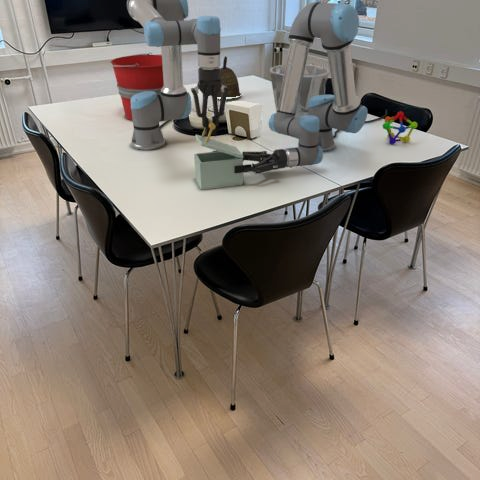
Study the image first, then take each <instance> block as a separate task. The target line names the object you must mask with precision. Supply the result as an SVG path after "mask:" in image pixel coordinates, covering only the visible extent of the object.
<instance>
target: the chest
mask: <svg viewBox="0 0 480 480" xmlns="http://www.w3.org/2000/svg"><path fill="white" fill-rule="evenodd" d="M215 151H216V150H215ZM193 155H194V156H193V157H194V175H195V177H194V178H195V181H196V183H197V186H198V187H199V188H200V190H202V191H203V190H211V189H219V188H227V187H235V186H242V185H243V184H244V172H243V173H235V166H239V165H244V162H243V158H240V157H236V156H233V155H230V154H226V153H223V152H220V151H216V152H213V151H209V152H197V153H194V154H193Z"/></svg>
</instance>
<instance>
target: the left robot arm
mask: <svg viewBox="0 0 480 480" xmlns="http://www.w3.org/2000/svg"><path fill="white" fill-rule="evenodd" d="M126 10H127V12H128V15H129V16H130V18H132V19H133V20H134V21H136V22H138V23H139V24H140V25H141V26H142V28H143V35H144V36H143V37H144V39H145V43H146V45H147V46H149V47H156V48H160V50H161V51H160V53H161V55H162V68H163V84H164V86H163V87H162V88H161V94H159V95H157V94H156V92H154V91H145V92H140V93H137V94H135V95H133V96H132V98H131V110H132V118H133V121H132V125H133V132H132V135H131V139H130V140H131V142H130V143H131V147H132V148H134V149H135V150H141V151H151V150H153V151H154V150H157V149H161V148H163V147H164V146H165V144H166V140H165V137H164V135H163V132H162V130H161V128H162V127H164V126H165V125H166V124H168V123H169V122H170V121H175V120H178V121H179V120H182V119H187V118H188V117H189V116H190V114H191V111H192V96H191V94H190V92H188V91H187V88H186V87H185V86H184V81H183V79H184V77H183V56H182V55H183V54H182V46H189V45H191V46H192V45H196V46H197V66H198V69H197V73H198V77H197V78H198V81H197V84H196V86H195V87H191V88H190V91H191V93H192V95H193V101H194V107H195V113H196V116H197V117H198V118H201V126H202V127H203V128H205V135H204V136H205V137H206V138H207V137H208V134H209V131H210V127H209V119H210V118H209V117H208V115H207V114H208V102H209V101H208V100H209V97H211V100H212V110H213V116H211V121H212V122H213V123H214V124H215V126H216V127H215V129H214V130H212V133H211V135H213V137H217V127H219V126H220V125H219V124H220V123H219V122H220V120H219V119H220V117H221V116H222V117H223V116H224V115H225V110H226V109H225V107H226V101H227V100H226V94H227V92H228V90H229V89H228V87H226V86H223V85H222V83H221V72H220V69H221V68H220V67H221V31H222V28H221V20H220V17H218V16H216V15H199V16H197V17H196V18H191V19H188V20H185V19H187V18H188V17H189V4H188V0H126ZM220 88H221V91H222V92H221V99H220V100H219V102H218V100H217V93H218V92H219V90H220ZM199 91H200V92H201V94H202V102H201V103H202V105H200V100H199V99H200V98H199V95H198V94H199ZM218 103H219V104H218ZM208 118H209V119H208ZM160 122H164V123H162V124H161V125H160Z"/></svg>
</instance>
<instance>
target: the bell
mask: <svg viewBox="0 0 480 480" xmlns="http://www.w3.org/2000/svg"><path fill="white" fill-rule="evenodd" d="M227 63H228V57H227V56H224V58H223V63H222V67H221V68H220V72H221V83H222V85H223V86H226V87H228V89H229V90H228V92H227V94H226V97H236V96H240V95H241V96H242V93H241V92H240V83H239V80H238V79H239V78H238V77H237V75H236V73H235V72H234V70H232V69H231V68H230V67H227ZM221 92H222V91H221V88H220V90H219V92H218V93H217V97H221Z"/></svg>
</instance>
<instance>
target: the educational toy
mask: <svg viewBox="0 0 480 480" xmlns="http://www.w3.org/2000/svg"><path fill="white" fill-rule="evenodd" d="M397 119H399V124H400V125H399V127H398V126H393V125H391V124H392V123H394V122H395V121H396V120H397ZM403 120H404V121H405V122H407V123H408V124H409V125H407V126H404V123H403ZM417 127H418V122H417V121H411V120H410V119H409V118H408V117H406V116H405V113H404V112H403V111H401V110H400V111H398V112H397V114H396V115H394V116H391V117H390V116H385V117H384V122H383V123H382V129H383V130H386V132H387V138H388V142H389V145H395V144H396V143H397V142H402V141H403V142H404V143H409V142H410V140H411V138H410V136H411V134H412V132H413V131H414V130H415V129H417ZM392 129H393V130H397V131H398V132H396V134H395V133H394V132H392ZM408 129H409V131H408V133H407V134H406V135H404V136H401V134H403V133H405V132H406V130H408ZM399 135H400V136H399Z"/></svg>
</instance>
